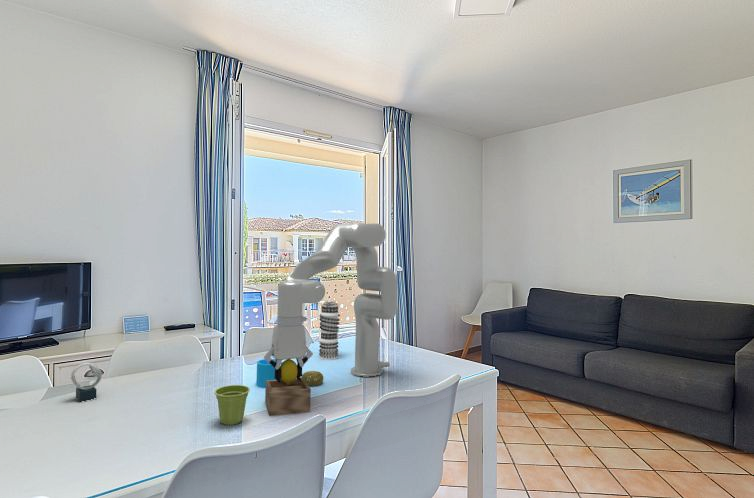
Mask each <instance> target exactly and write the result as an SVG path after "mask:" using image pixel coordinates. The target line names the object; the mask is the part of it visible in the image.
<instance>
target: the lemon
mask: <svg viewBox="0 0 754 498" xmlns="http://www.w3.org/2000/svg"><path fill="white" fill-rule="evenodd" d="M280 369H281V380H282V381H283V382H285V383H287V384H290V383H291V382H293V381H294V380H295V379H296V377H297V373H298V368H297V362H295V361H294V359H293V360H292V359H284V360H283V363H282V364H280Z"/></svg>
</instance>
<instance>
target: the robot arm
mask: <svg viewBox="0 0 754 498" xmlns="http://www.w3.org/2000/svg"><path fill="white" fill-rule="evenodd" d="M386 235H387V233H386V229H385V228H384V226H383V225H382V224H379V223H361V222H360V223H359V222H358V223H353V222H352V223H351V222H350V223H348V222H347V223H345V222H344V223H337V224H334V225H333V226H332V227H331V229H330V230H329V231H328V233H327V235H326V236H325V237H324V240H323V241H322V243H321V244H320V246H319V247H318V249H317V250H316V251H315V252H314V253H312V254H311V255H309V256H308V257H306V258H305V259H304V260H301V262H299V263H298V264H296V265H295V267H294V268H293V269H292V270H291V272H290V273H289V275H288V276H287V277H286V279H285V281H281V282H280V283H278V287H277V318H276V325H274V327H273V332H272V338H271V348H270V349H269V350H268V351H267V352H266V354H265V355H263V359H265V360H266V361H267V362H269V363H270V364H271V365H272V366H273V367H274V368H275V374H274V378H275V379H276V380H277V382H278V383H279V382H281V369H280V366H281V362H282V361H285V360H287V359H291V360H292V359H293V360H294V359H295V360H296V365H297V368H298V373H297V377H296V378H297V379H298V380H301V377H302V375H303V367H304V366H305V364H306V363H307V362H308V361H309V359H310V358H312V356H313V355H314V353H313V352H312V351H311V350H310V349H309V348H308V347H307V338H306V330H305V325H303V324H304V322H307V320H308V319H307V316H303V305H304V304H317V303H319V302H321V301H322V300H323V299H324V298H325V295H326V288H325V285H324V284H323V283H322V282H321V281H318V280H314V279H311V278H312V277H314V276H316V275H318V274H321V273H323V272H326V271H330V270H332V269H334V268H336V267H337V266H338V264H339V263H340V261H341V259H342V257H343V256H344V255H345V253H346V251H347V250H348V248H352V251H354V255H355V259H356V260H355V261H356V280H357V281H356V282H357V286H358V288H359V289H361V290H363V291H364V290H365V291H370V292H369V293H368V292H364V293H363V292H362V293H360V294H358V295H357V296H356V297H355V298H354V301H353V310H354V316H355V317H354V318H355V344H354V345H355V347H354V367H352V368H351V369H350V373H351V374H352V375H353V376H356V377H360V376H363V377H362V378H370V377H369V376H375V377H377V376H376V375H379V374H381V373H382V374H383V368H388V367H390V365H391V363H390V361H385V362H384V360H382V361H381V360H380V331H381V330H380V325H379V323H378V321H377V319H379V320H385V321H386V320H387V321H389V320H392V319H393V318H395V317H396V315H397V311H398V310H397V309H398V287H397V285H398V284H397V280H398V279H397V276H396V272H395V271H394V270H393V269H392V268H391V267H386V266H380V265H379V259H378V255H379V254H378V251H377V249H376V247H380V246H381V245H383V243H384V242H385V239H386V237H387V236H386ZM371 292H380V294H379V293H371ZM271 357H273V358H271ZM272 359H275V362H274V361H273V360H272ZM382 374H381V375H382ZM379 376H380V375H379Z"/></svg>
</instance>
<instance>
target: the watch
mask: <svg viewBox="0 0 754 498" xmlns="http://www.w3.org/2000/svg"><path fill="white" fill-rule="evenodd" d="M85 366H89V369H90V370H91V372H92V373H93V374H94V375H95V377H96V378H97V379H96V380H95V382H94V383H92V384H90V385H86V386H85V385H84V386H81V384H80V383H79V382H77V379H76V376H75V374H76V372H77V371H78V370H79V369H81V368H83V367H85ZM102 376H103V373H102V371H101V370H100V369H99V367H98V366H97V365H96V364H95V363H94V362H92V363H91V362H83V363H80V364H78V365H76V366H75V367H74V369H73V370H72V371H71V377H70V379H71V382H72V383H73V384H74V385H75V387H76V388H75V399H76V398H77V399H78V400H79V401H78V400H77V399H76V400H77V401H78V402H79V403H83V402H82V401H84V402H87V401H86V400H90V401H92V400H91V399H94V398H96V399H97V390H98V389H97V388H96V386H97V385H99V383H100V382H101V379H102Z"/></svg>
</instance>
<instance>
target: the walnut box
mask: <svg viewBox="0 0 754 498" xmlns="http://www.w3.org/2000/svg"><path fill="white" fill-rule="evenodd" d="M311 392H312V389H311V387H310V386H308V384H307V382H306V381H305V379H304V378H301V380H298V379H297V378H296V379H295V380H294V381H293V382H291V383H290V384H287V383H285V382H283V381H282V380H281V382H279V383H278V382H277V380H267V381H266V388H265V391H264V393H265V396H264V397H265V399H264V403H265V407H266V410H267V413H268V416H269V417H273V416H274V417H275V416H282V415H283V416H284V415H292V414H300V413H310V412H311V397H312V395H311V394H312V393H311Z"/></svg>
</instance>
